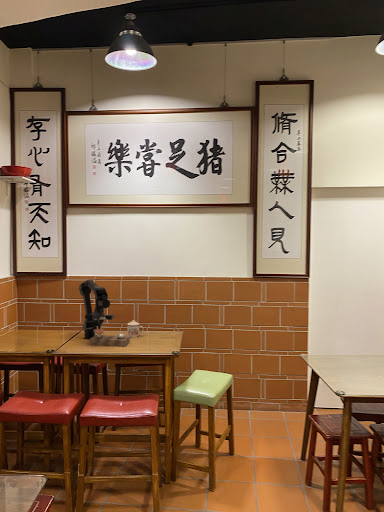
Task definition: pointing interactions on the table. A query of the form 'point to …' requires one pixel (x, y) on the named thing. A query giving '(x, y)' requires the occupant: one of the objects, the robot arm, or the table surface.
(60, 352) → the table surface
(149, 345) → the table surface
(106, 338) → the press block
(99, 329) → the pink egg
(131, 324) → the teacup with lid
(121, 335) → the grey plunger
